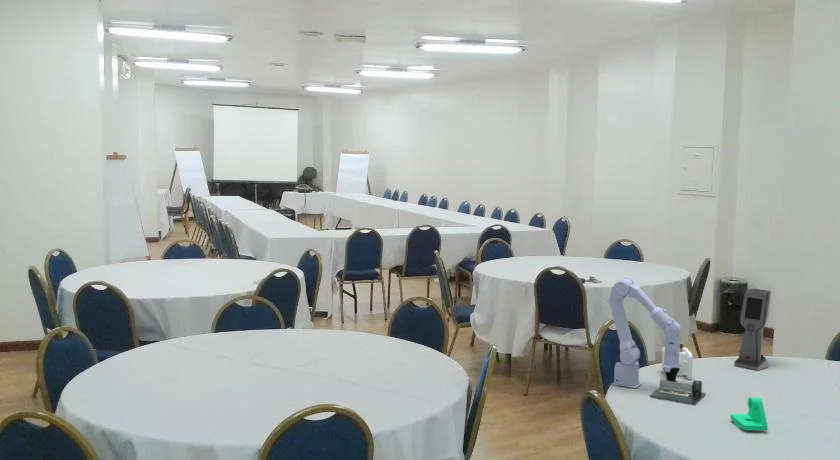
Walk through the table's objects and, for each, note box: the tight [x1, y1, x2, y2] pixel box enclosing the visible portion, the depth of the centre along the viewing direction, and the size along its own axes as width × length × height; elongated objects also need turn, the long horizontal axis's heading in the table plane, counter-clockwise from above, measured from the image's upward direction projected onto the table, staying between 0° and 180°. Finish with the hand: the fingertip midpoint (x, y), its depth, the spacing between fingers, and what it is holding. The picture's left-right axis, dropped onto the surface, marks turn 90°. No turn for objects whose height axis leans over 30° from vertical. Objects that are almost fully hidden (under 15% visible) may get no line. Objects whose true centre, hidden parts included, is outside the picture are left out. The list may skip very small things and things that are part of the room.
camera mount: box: [730, 397, 768, 431], centre depth 236 cm, size 12×8×10 cm, turn 178°
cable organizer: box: [661, 346, 694, 380], centre depth 299 cm, size 15×11×12 cm
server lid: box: [649, 387, 706, 406], centre depth 271 cm, size 17×16×1 cm
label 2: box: [674, 391, 691, 397], centre depth 271 cm, size 5×5×1 cm
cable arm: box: [659, 377, 703, 396], centre depth 273 cm, size 16×3×5 cm, turn 56°
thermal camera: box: [733, 288, 772, 372], centre depth 315 cm, size 12×13×35 cm
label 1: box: [660, 389, 676, 394], centre depth 274 cm, size 5×5×1 cm
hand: (671, 385), depth 277 cm, fingers closed
